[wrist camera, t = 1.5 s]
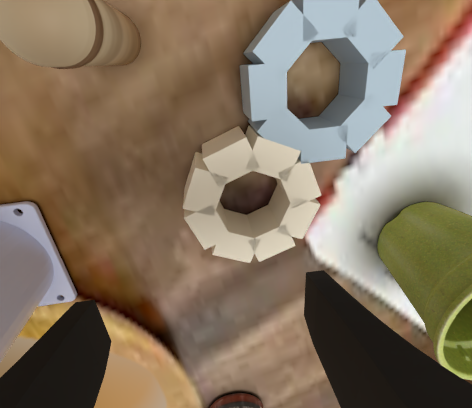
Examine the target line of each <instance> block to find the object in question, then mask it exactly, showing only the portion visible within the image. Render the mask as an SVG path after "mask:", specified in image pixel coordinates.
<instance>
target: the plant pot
mask: <svg viewBox="0 0 472 408" xmlns="http://www.w3.org/2000/svg"><path fill="white" fill-rule="evenodd" d="M378 253H379V256H380V258H381V260H382V261H383V263H384V264H385V265H386V267H387V268H388V270H389V271H390V273H391V274H392V276H393V277H394V278H395V280H396V281H397V283H398V284H399V286H400V287H401V289H402V290H403V292H404V293H405V295H406V296H407V298H408V299H409V301H410V302H411V304H412V305H413V307H414V308H415V310H416V311H417V312H418V314H419V315H420V317H421V318H422V320H423V322H424V323H425V328H426V331H427V333H428V335H429V336H430V338H431V340H432V341H433V343H434V353H435V356H436V358H437V360H438V362H439V363H440V365H442V366H443V367H445V368H446V369H448V370H449V371H451V372H453V373H454V374H456V375H457V376H459V377H460V378H462V379H467V380H472V216H470V215H468V214H465V213H462V212H460V211H457V210H455V209H452V208H449V207H447V206H444V205H441V204H438V203H434V202H421V203H416V204H413V205H410V206H408V207H406V208H404V209H403V210H402V211H401V212H400V214H399V215H398V216H397V217H396V218H394V219H393V220H392V221H390V222H388V223H387V224H386V225H385V226H384V228H383V229H382V231H381V233H380V236H379V239H378Z"/></svg>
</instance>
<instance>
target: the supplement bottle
mask: <svg viewBox="0 0 472 408" xmlns="http://www.w3.org/2000/svg"><path fill="white" fill-rule="evenodd" d="M210 408H263V405H262V403H261V401H260V400H259V399H258V398H256V397H255V396H253V395H250V394H245V393H235V394H229V395H226V396H223V397H222V398H219V399H218V400H216V401H215V402H214V403H213V404H212V405H211V406H210Z"/></svg>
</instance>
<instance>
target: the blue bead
mask: <svg viewBox="0 0 472 408" xmlns="http://www.w3.org/2000/svg"><path fill="white" fill-rule="evenodd" d="M402 38H403V35H402V34H401V33H400V31H399V30H398V28H397V27H396V26H395V24H394V23H393V22H392V20H391V19H390V17H389V16H388V15H387V13H386V12H385V10H384V9H383V8H382V6H381V5H380V4H379V2H378V1H377V0H292V1H289V2H288V3H286V4H285V5H283V6H282V7H280V8H279V9H277V10H276V11H274V12H273V14H272V15H271V16H270V18H269V19H268V20H267V22H266V23H265V24H264V26H263V27H262V29H261V30H260V31H259V33H258V34H257V35H256V37H255V38H254V39H253V41H252V42H251V43H250V45H249V46H248V47H247V49H246V50H245V51H244V53H243V54H244V55H245V56H246V57H247V58H248V59H249V60H250V61H251V62H252V63H253V64H247V65H240V77H241V91H242V104H243V113H244V114H245V115H246V116H247V117H248V118H249V120H248V122H249V123H250V125H251V126H252V127H253V128H254V129H255V130H256V132H258V133H259V134H260V135H261V136H262V137H263V138H265V139H266V140H270V141H273V142H276V143H279V144H282V145H285V146H288V147H290V148H293V149H296V150H299V151H301V152H300V154H299V157H298V159H299V160H300V161H301V163H302V164H304V163H312V162H320V161H328V160H336V159H344V158H345V156H346V148H347V149H349V150H351V151H353V152H354V153H356V152H357V151H358V150H359V149H360V148H361V147H362V146H363V145H364V144H365V143H366V142H367V141H368V140H369V139H370V137H371V136H372V135H373V134H374V133H375V132H376V131H377V130H378V129H379V128H380V127H381V126H382V125H383V124H384V123H385V122H386V121H387V120H388V119H389V118H390V117H391V115H390V114H389V113H388V112H387V111H386V110H385V108H384V107H383V106H390V105H397V103H398V97H399V90H400V84H401V78H402V72H403V65H404V59H405V53H406V50H392V49H393V48H394V47H395V45H396V44H397V43H398V42H399V41H400V40H401V39H402ZM314 42H322V43H323V44H324V45H325V46H326V47H327V48H328V50H329V51H330V52H331V53H332V54H333V55H334V56H335V58H336V59H337V60H338V61H339V62H340V78H339V92H338V95H337V96H336V97H335V98H334V100H333V101H332V102H331V103H330V104H329V105H328V106H327V107H326V109H325V110H324V111H323V112H322V113H321V114H320V115H319V116H318V117H309V118H301V119H298V118H297V117H296V116H295V115H293V114H292V113H291V112H290V111H289V110H288V109H287V71H288V70H289V68H290V67H291V66H292V65H293V63H294V62H295V61H296V60H297V59H298V57H299V56H300V55H301V54H302V52H303V51H304V50H305V49H306V47H307V46H308V45H309V44H310V43H314ZM391 50H392V51H391ZM304 161H305V162H304Z"/></svg>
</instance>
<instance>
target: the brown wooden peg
mask: <svg viewBox="0 0 472 408" xmlns="http://www.w3.org/2000/svg"><path fill="white" fill-rule="evenodd" d="M0 40H1V41H2V42H3V43H4V44H5V46H6V47H8V48H9V49H10V50H11V51H12V52H13V53H14V54H16V55H17V56H19V57H20V58H22V59H23V60H25V61H27V62H29V63H32V64H35V65H38V66H42V67H51V68H57V69H70V68H79V67H82V66H118V65H127V64H129V63H131V62H132V61H134V60H135V59H136V57H137V56H138V54H139V51H140V47H141V40H140V35H139V32H138V29H137V27H136V26H135V24H134V23H133V22H132V21H131V20H130V19H129V18H128V17H127V16H126V15H124V14H123V13H121V12H120V11H118V10H117V9H115V8H114V7H112V6H111V5H109V4H108V3H106V2H105V1H103V0H0Z"/></svg>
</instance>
